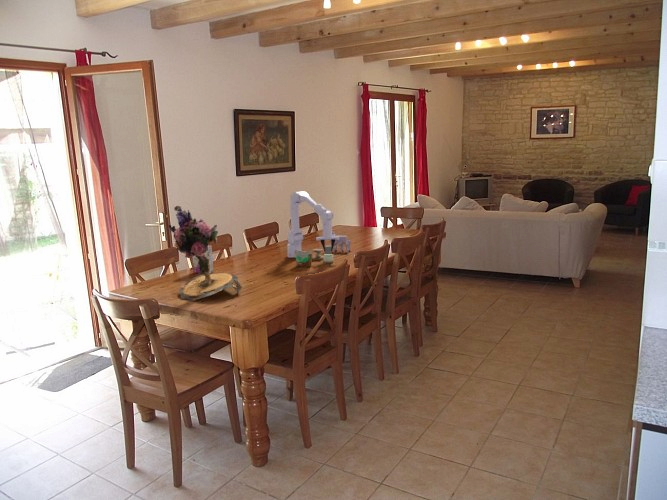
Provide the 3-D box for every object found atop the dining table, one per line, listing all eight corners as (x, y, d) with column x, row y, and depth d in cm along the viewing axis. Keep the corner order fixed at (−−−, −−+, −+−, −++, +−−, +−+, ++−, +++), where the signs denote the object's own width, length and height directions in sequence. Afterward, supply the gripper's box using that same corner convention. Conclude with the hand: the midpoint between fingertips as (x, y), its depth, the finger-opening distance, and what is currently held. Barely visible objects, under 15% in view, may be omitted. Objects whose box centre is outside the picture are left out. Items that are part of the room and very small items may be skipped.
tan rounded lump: (311, 260, 346) (311, 251, 345) (312, 257, 354) (312, 248, 353) (324, 259, 346) (323, 250, 345) (324, 257, 354) (324, 248, 353)
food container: (291, 266, 330) (290, 251, 328) (296, 264, 335) (295, 249, 333) (308, 268, 324) (307, 252, 322) (313, 266, 330) (312, 250, 327)
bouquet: (142, 293, 269) (158, 205, 273) (216, 301, 301) (229, 223, 305) (175, 300, 246) (192, 204, 250) (252, 309, 277) (266, 224, 281)
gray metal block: (325, 254, 339) (324, 246, 338) (325, 253, 343) (325, 245, 342) (331, 254, 339) (331, 246, 338) (331, 252, 343) (331, 245, 342)
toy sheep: (320, 252, 370) (320, 232, 368) (325, 249, 380) (325, 230, 378) (348, 253, 364) (347, 233, 362) (352, 250, 374) (352, 231, 372)
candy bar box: (193, 273, 322) (190, 246, 319) (197, 271, 327) (195, 245, 324) (210, 273, 319) (207, 247, 316) (214, 271, 324) (211, 245, 321)
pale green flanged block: (323, 262, 338) (323, 257, 338) (324, 259, 346) (323, 254, 345) (333, 262, 338) (333, 256, 337) (333, 259, 346) (333, 254, 345)
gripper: (315, 231, 334) (316, 252, 337) (338, 230, 334) (339, 252, 337) (316, 229, 341) (317, 250, 344) (338, 229, 341) (339, 249, 344)
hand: (328, 251), depth 341 cm, fingers closed on gray metal block, 4 cm apart
